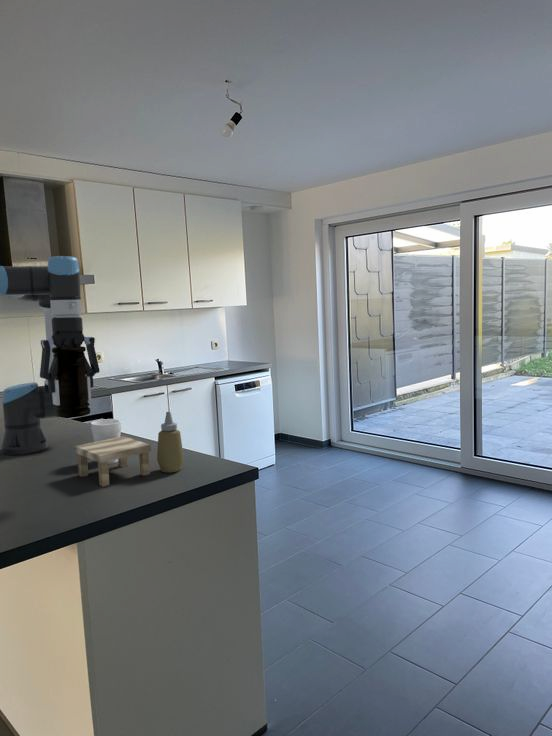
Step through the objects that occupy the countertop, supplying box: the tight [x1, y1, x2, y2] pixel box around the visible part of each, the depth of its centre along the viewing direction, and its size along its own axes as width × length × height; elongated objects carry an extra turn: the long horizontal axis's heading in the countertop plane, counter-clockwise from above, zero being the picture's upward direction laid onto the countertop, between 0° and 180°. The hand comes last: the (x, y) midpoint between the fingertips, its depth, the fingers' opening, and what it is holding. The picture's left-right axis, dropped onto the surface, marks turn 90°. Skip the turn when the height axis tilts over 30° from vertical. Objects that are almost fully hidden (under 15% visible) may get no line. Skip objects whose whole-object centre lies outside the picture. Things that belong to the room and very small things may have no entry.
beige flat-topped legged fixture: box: [74, 435, 152, 487], centre depth 164 cm, size 16×16×9 cm
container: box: [52, 345, 91, 418], centre depth 146 cm, size 9×9×18 cm
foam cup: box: [90, 418, 123, 465], centre depth 178 cm, size 10×9×13 cm
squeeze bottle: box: [156, 411, 185, 473], centre depth 166 cm, size 8×8×18 cm
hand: (72, 402), depth 147 cm, fingers closed on container, 8 cm apart
